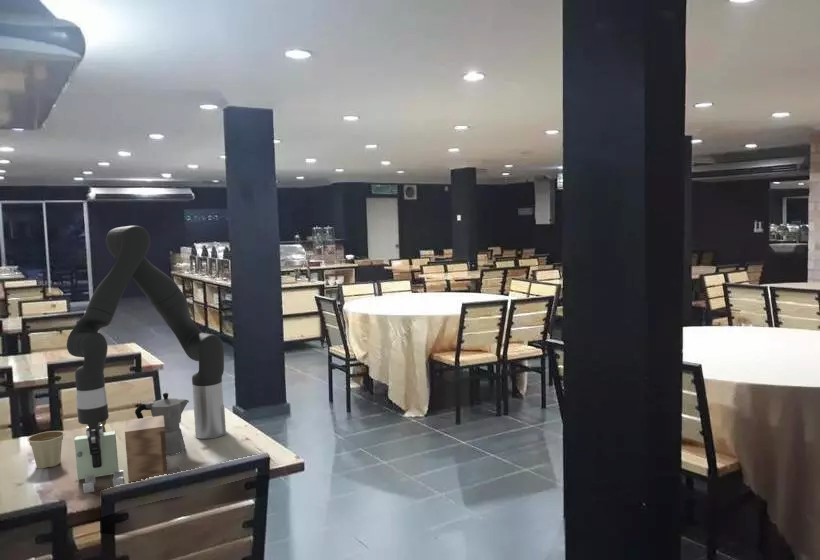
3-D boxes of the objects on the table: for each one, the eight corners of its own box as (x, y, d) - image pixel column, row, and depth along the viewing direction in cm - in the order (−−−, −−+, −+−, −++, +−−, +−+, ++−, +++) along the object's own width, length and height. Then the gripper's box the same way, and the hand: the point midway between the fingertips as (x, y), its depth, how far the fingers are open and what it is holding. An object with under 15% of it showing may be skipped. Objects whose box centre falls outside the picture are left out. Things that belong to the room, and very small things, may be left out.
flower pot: (39, 459, 198) (36, 431, 197) (72, 457, 199) (69, 429, 198) (23, 472, 189) (21, 442, 188) (58, 469, 190) (55, 440, 189)
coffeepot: (189, 442, 209) (186, 386, 208) (194, 451, 201) (190, 393, 199) (137, 451, 203) (132, 393, 201) (139, 461, 194) (135, 401, 192)
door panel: (118, 468, 187) (115, 430, 185) (118, 473, 183) (114, 435, 182) (79, 475, 183) (75, 436, 182) (77, 480, 179) (74, 441, 178)
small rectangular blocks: (123, 478, 182) (123, 470, 181) (123, 486, 176) (122, 477, 176) (85, 484, 178) (84, 476, 178) (83, 493, 173) (83, 484, 172)
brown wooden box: (166, 462, 193) (163, 415, 191) (168, 475, 182) (164, 426, 181) (129, 468, 189) (125, 420, 187) (128, 482, 179) (124, 431, 177)
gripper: (106, 408, 176) (111, 471, 178) (108, 395, 189) (113, 454, 191) (74, 412, 173) (80, 476, 175) (79, 399, 186) (84, 458, 188)
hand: (97, 464), depth 183 cm, fingers closed on door panel, 3 cm apart
